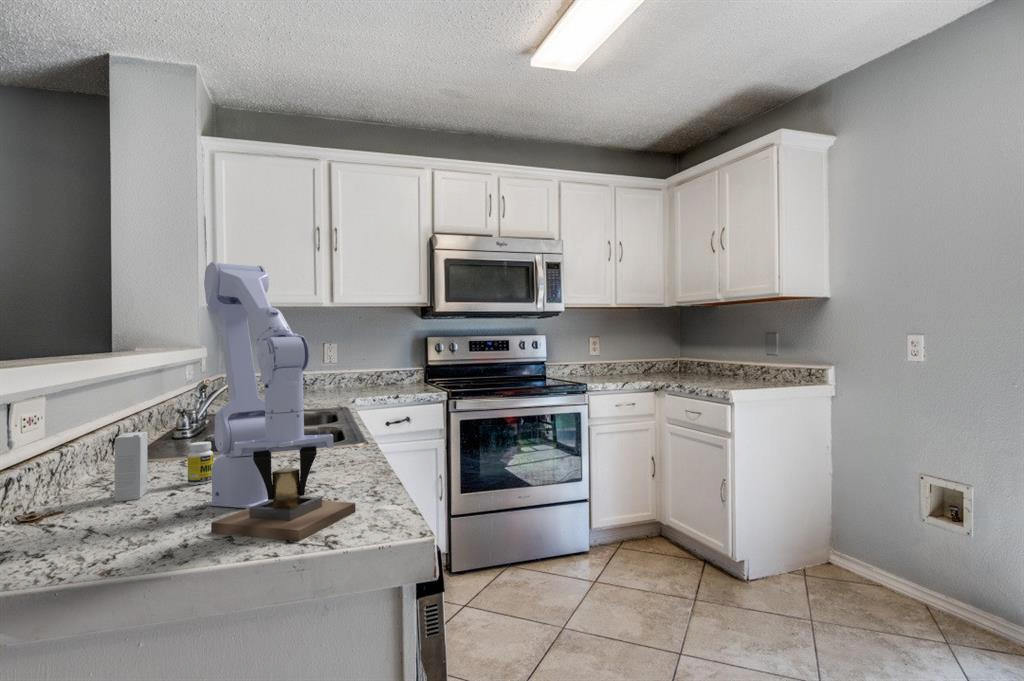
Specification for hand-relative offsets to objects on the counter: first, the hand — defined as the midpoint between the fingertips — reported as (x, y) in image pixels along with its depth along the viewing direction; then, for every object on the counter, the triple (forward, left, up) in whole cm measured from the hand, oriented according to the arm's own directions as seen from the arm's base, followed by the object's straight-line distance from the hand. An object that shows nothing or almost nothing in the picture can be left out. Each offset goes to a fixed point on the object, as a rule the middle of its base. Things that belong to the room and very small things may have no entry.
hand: (286, 496), depth 87 cm
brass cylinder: (0, 0, -2) cm, 2 cm away
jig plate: (0, 0, -4) cm, 4 cm away
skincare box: (-41, +6, -4) cm, 42 cm away
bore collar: (0, 0, -2) cm, 2 cm away
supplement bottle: (-37, +18, -4) cm, 41 cm away
